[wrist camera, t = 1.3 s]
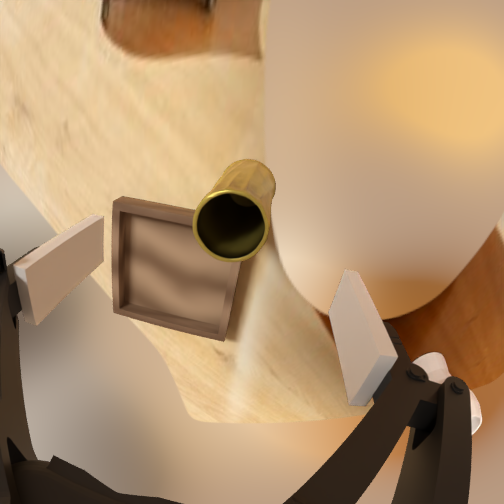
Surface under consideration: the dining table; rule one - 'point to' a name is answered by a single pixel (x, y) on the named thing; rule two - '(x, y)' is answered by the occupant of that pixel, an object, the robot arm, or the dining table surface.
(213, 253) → the vase
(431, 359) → the cup
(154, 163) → the dining table surface
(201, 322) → the walnut tray
